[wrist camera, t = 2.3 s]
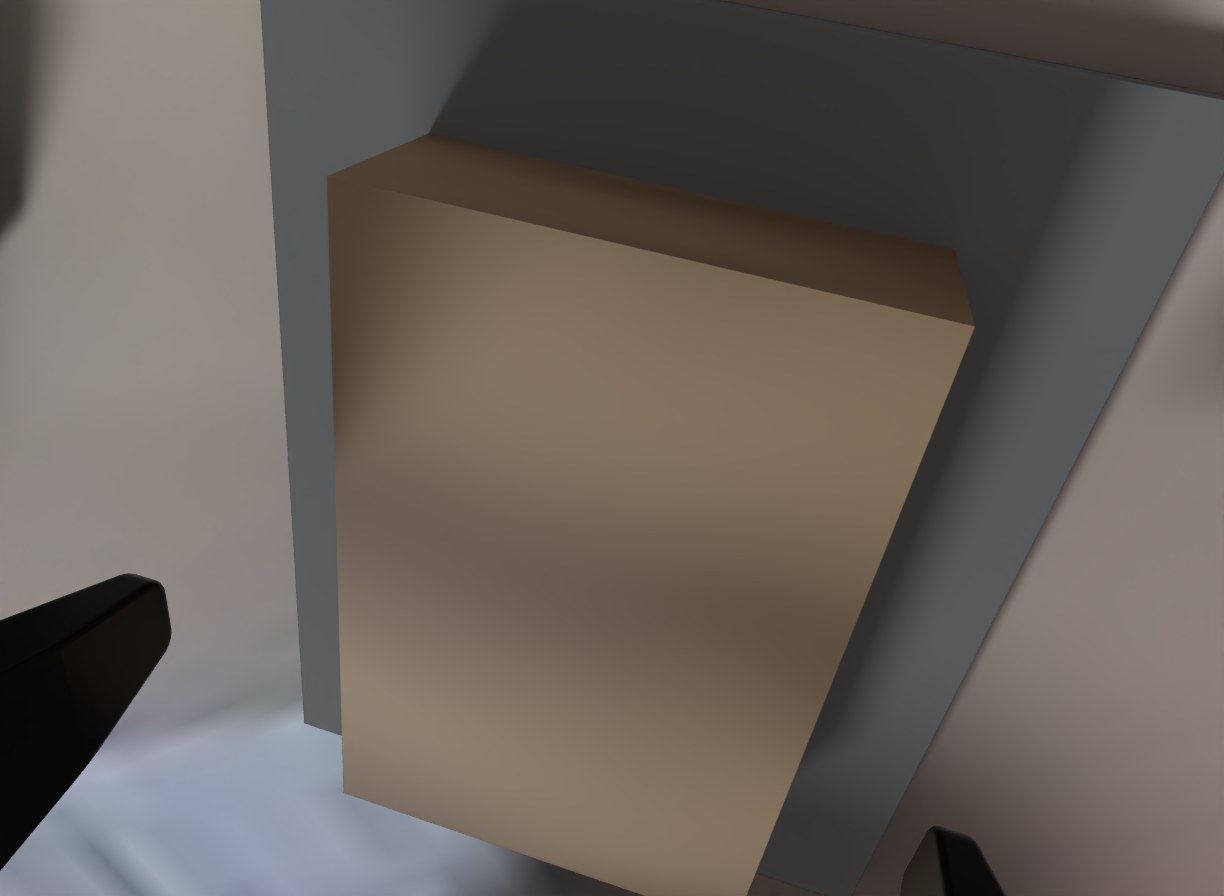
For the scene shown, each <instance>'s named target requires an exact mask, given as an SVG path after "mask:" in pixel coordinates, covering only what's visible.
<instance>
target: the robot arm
mask: <svg viewBox="0 0 1224 896" xmlns="http://www.w3.org/2000/svg"><path fill="white" fill-rule="evenodd" d="M170 639H171V624H170V618H169V612H168V606H167V600H166V594H165V590H164V587H163V586H162V585H161V583H160V582H158V581H156V580H153V579H149V578H146V577H143V576H140V575H137V574H129V573H128V574H122V575H119V576H116V577H114V578H111V579H108V580H106V581H103V582H100V583H98V584H95V585H92V586H90V587H87V588H85V589H82V590H79V591H77V592H74V593H71V594H69V595H66V596H63V597H61V598H58V599H55V600H53V601H50V602H47V603H45V604H42V605H40V606H37V607H34V608H32V609H29V610H26V611H24V612H21V613H18V614H16V615H13V616H10V617H8V618H5V619H2V620H0V871H1V869H2V868H3V867H4V866H5V864H6V863H7V862H8V861H9V860H10V858H11V857H12V856H13V855H14V854H15V852H16V851H17V850H18V849H19V848H20V846H21V845H22V844H23V843H24V842H25V840H26V839H27V838H28V837H29V836H30V834H31V833H32V832H33V831H34V830H35V828H36V827H37V826H38V825H39V824H40V822H41V821H42V820H43V819H44V818H45V816H46V815H47V814H48V813H49V811H50V810H51V809H52V808H53V807H54V805H55V804H56V803H57V802H58V801H59V799H60V798H61V797H62V796H63V795H64V793H65V792H66V791H67V790H68V789H69V787H70V786H71V785H72V784H73V783H74V781H75V780H76V779H77V778H78V776H79V775H80V774H81V773H82V771H83V770H84V769H85V768H86V766H87V765H88V764H89V763H90V761H91V760H92V758H93V757H94V756H95V754H96V753H97V752H98V750H99V749H100V747H101V746H102V745H103V743H104V742H105V740H106V739H107V737H108V736H109V734H110V733H111V731H112V730H113V728H114V727H115V726H116V724H117V723H118V721H119V720H120V718H121V717H122V715H123V714H124V712H125V711H126V709H127V708H128V706H129V705H130V703H131V702H132V700H133V699H134V698H135V696H136V695H137V693H138V692H139V690H140V689H141V687H142V686H143V684H144V683H145V681H146V680H147V678H148V677H149V675H150V674H151V673H152V671H153V670H154V668H155V667H156V665H157V664H158V662H159V661H160V659H161V658H162V656H163V655H164V653H165V652H166V650H167V648H168V645H169V643H170ZM900 896H1006V895H1005V893H1004V891H1003V889H1002V888H1001V886H1000V884H999V882H998V880H997V879H996V877H995V875H994V873H993V871H992V870H991V868H990V866H989V864H988V862H987V861H986V859H985V857H984V855H983V853H982V851H981V850H980V848H979V846H978V845H977V843H976V842H975V841H974V840H973V839H972V838H971V837H969V836H967V835H965V834H962V833H959V832H955V831H952V830H949V829H946V828H943V827H940V826H934V827H932V828H930V829H929V830H928V832H927V833H926V835H925V836H924V838H923V840H922V842H921V844H920V845H919V847H918V849H917V851H916V853H915V854H914V856H913V858H912V860H911V862H910V863H909V865H908V867H907V869H906V871H905V874H904V877H903V881H902V886H901V894H900Z"/></svg>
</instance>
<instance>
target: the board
mask: <svg viewBox="0 0 1224 896" xmlns="http://www.w3.org/2000/svg"><path fill="white" fill-rule="evenodd" d="M327 199H328V236H329V273H330V310H331V347H332V384H333V421H334V458H335V495H336V532H337V569H338V606H339V643H340V680H341V718H342V755H343V792H344V793H345V794H348V795H351V796H354V797H357V798H360V799H363V800H366V801H369V802H372V803H375V804H378V805H381V806H383V807H386V808H389V809H392V810H395V811H398V812H401V813H404V814H407V815H410V816H413V817H416V818H419V819H421V820H424V821H427V822H430V823H433V824H436V825H439V826H442V827H445V828H448V829H451V830H454V831H457V832H460V833H462V834H465V835H468V836H471V837H474V838H477V839H480V840H483V841H486V842H489V843H492V844H495V845H498V846H500V847H503V848H506V849H509V850H512V851H515V852H518V853H521V854H524V855H527V856H530V857H533V858H536V859H539V860H541V861H544V862H547V863H550V864H553V865H556V866H559V867H562V868H565V869H568V870H571V871H574V872H577V873H579V874H582V875H585V876H588V877H591V878H594V879H597V880H600V881H603V882H606V883H609V884H612V885H615V886H618V887H620V888H623V889H626V890H629V891H632V892H635V893H638V894H641V895H644V896H747V893H748V891H749V888H750V886H751V883H752V881H753V878H754V876H755V873H756V871H757V868H758V866H759V863H760V861H761V858H762V856H763V853H764V851H765V848H766V846H767V843H768V841H769V838H770V836H771V833H772V831H773V828H774V826H775V823H776V821H777V818H778V816H779V813H780V811H781V808H782V806H783V803H784V801H785V798H786V796H787V793H788V791H789V788H790V786H791V784H792V781H793V779H794V776H795V774H796V771H797V769H798V766H799V764H800V761H801V759H802V756H803V754H804V751H805V749H806V746H807V744H808V741H809V739H810V736H811V734H812V731H813V729H814V726H815V724H816V721H817V719H818V716H819V714H820V711H821V709H822V706H823V704H824V701H825V699H826V696H827V694H828V691H829V689H830V686H831V684H832V681H833V679H834V676H835V674H836V671H837V669H838V667H839V664H840V662H841V659H842V657H843V654H844V652H845V649H846V647H847V644H848V642H849V639H850V637H851V634H852V632H853V629H854V627H855V624H856V622H857V619H858V617H859V614H860V612H861V609H862V607H863V604H864V602H865V599H866V597H867V594H868V592H869V589H870V587H871V584H872V582H873V579H874V577H875V574H876V572H877V569H878V567H879V564H880V562H881V559H882V557H883V554H884V552H885V549H886V547H887V545H888V542H889V540H890V537H891V535H892V532H893V530H894V527H895V525H896V522H897V520H898V517H899V515H900V512H901V510H902V507H903V505H904V502H905V500H906V497H907V495H908V492H909V490H910V487H911V485H912V482H913V480H914V477H915V475H916V472H917V470H918V467H919V465H920V462H921V460H922V457H923V455H924V452H925V450H926V447H927V445H928V442H929V440H930V437H931V435H932V432H933V430H934V428H935V425H936V423H937V420H938V418H939V415H940V413H941V410H942V408H943V405H944V403H945V400H946V398H947V395H948V393H949V390H950V388H951V385H952V383H953V380H954V378H955V375H956V373H957V370H958V368H959V365H960V363H961V360H962V358H963V355H964V353H965V350H966V348H967V345H968V343H969V340H970V338H971V335H972V333H973V330H974V328H975V325H974V321H973V317H972V313H971V309H970V306H969V302H968V298H967V294H966V290H965V287H964V283H963V279H962V275H961V271H960V268H959V264H958V260H957V256H956V252H955V250H954V249H949V248H945V247H940V246H936V245H931V244H927V243H922V242H917V241H913V240H908V239H904V238H899V237H895V236H890V235H886V234H881V233H877V232H872V231H868V230H863V229H859V228H854V227H850V226H845V225H840V224H836V223H831V222H827V221H822V220H818V219H813V218H809V217H804V216H800V215H795V214H791V213H786V212H782V211H777V210H773V209H768V208H763V207H759V206H754V205H750V204H745V203H741V202H736V201H732V200H727V199H723V198H718V197H714V196H709V195H705V194H700V193H695V192H691V191H686V190H682V189H677V188H673V187H668V186H664V185H659V184H655V183H650V182H646V181H641V180H637V179H632V178H628V177H623V176H618V175H614V174H609V173H605V172H600V171H596V170H591V169H587V168H582V167H578V166H573V165H569V164H564V163H560V162H555V161H551V160H546V159H541V158H537V157H532V156H528V155H523V154H519V153H514V152H510V151H505V150H501V149H496V148H492V147H487V146H483V145H478V144H473V143H469V142H464V141H460V140H455V139H451V138H446V137H442V136H437V135H433V134H426V135H424V136H421V137H419V138H416V139H414V140H412V141H409V142H407V143H405V144H402V145H400V146H397V147H395V148H393V149H390V150H388V151H385V152H383V153H381V154H378V155H376V156H373V157H371V158H369V159H366V160H364V161H362V162H359V163H357V164H354V165H352V166H350V167H347V168H345V169H342V170H340V171H338V172H335V173H333V174H331V175H328V176H327Z"/></svg>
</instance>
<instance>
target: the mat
mask: <svg viewBox="0 0 1224 896" xmlns="http://www.w3.org/2000/svg"><path fill="white" fill-rule="evenodd" d="M260 3H261V19H262V36H263V52H264V69H265V85H266V102H267V118H268V134H269V151H270V167H271V184H272V200H273V217H274V233H275V250H276V266H277V283H278V299H279V315H280V332H281V348H282V365H283V381H284V398H285V414H286V431H287V447H288V464H289V480H290V496H291V513H292V529H293V546H294V562H295V579H296V595H297V612H298V628H299V645H300V661H301V677H302V694H303V710H304V723H305V724H308V725H311V726H314V727H317V728H320V729H323V730H326V731H329V732H332V733H335V734H338V735H341V736H342V718H341V680H340V643H339V606H338V569H337V532H336V495H335V458H334V421H333V384H332V347H331V310H330V273H329V236H328V199H327V176H328V175H331V174H333V173H335V172H338V171H340V170H342V169H345V168H347V167H350V166H352V165H354V164H357V163H359V162H362V161H364V160H366V159H369V158H371V157H373V156H376V155H378V154H381V153H383V152H385V151H388V150H390V149H393V148H395V147H397V146H400V145H402V144H405V143H407V142H409V141H412V140H414V139H416V138H419V137H421V136H424V135H426V134H433V135H437V136H442V137H446V138H451V139H455V140H460V141H464V142H469V143H473V144H478V145H483V146H487V147H492V148H496V149H501V150H505V151H510V152H514V153H519V154H523V155H528V156H532V157H537V158H541V159H546V160H551V161H555V162H560V163H564V164H569V165H573V166H578V167H582V168H587V169H591V170H596V171H600V172H605V173H609V174H614V175H618V176H623V177H628V178H632V179H637V180H641V181H646V182H650V183H655V184H659V185H664V186H668V187H673V188H677V189H682V190H686V191H691V192H695V193H700V194H705V195H709V196H714V197H718V198H723V199H727V200H732V201H736V202H741V203H745V204H750V205H754V206H759V207H763V208H768V209H773V210H777V211H782V212H786V213H791V214H795V215H800V216H804V217H809V218H813V219H818V220H822V221H827V222H831V223H836V224H840V225H845V226H850V227H854V228H859V229H863V230H868V231H872V232H877V233H881V234H886V235H890V236H895V237H899V238H904V239H908V240H913V241H917V242H922V243H927V244H931V245H936V246H940V247H945V248H949V249H954V250H955V252H956V256H957V260H958V264H959V268H960V271H961V275H962V279H963V283H964V287H965V290H966V294H967V298H968V302H969V306H970V309H971V313H972V317H973V321H974V325H975V328H974V330H973V333H972V335H971V338H970V340H969V343H968V345H967V348H966V350H965V353H964V355H963V358H962V360H961V363H960V365H959V368H958V370H957V373H956V375H955V378H954V380H953V383H952V385H951V388H950V390H949V393H948V395H947V398H946V400H945V403H944V405H943V408H942V410H941V413H940V415H939V418H938V420H937V423H936V425H935V428H934V430H933V432H932V435H931V437H930V440H929V442H928V445H927V447H926V450H925V452H924V455H923V457H922V460H921V462H920V465H919V467H918V470H917V472H916V475H915V477H914V480H913V482H912V485H911V487H910V490H909V492H908V495H907V497H906V500H905V502H904V505H903V507H902V510H901V512H900V515H899V517H898V520H897V522H896V525H895V527H894V530H893V532H892V535H891V537H890V540H889V542H888V545H887V547H886V549H885V552H884V554H883V557H882V559H881V562H880V564H879V567H878V569H877V572H876V574H875V577H874V579H873V582H872V584H871V587H870V589H869V592H868V594H867V597H866V599H865V602H864V604H863V607H862V609H861V612H860V614H859V617H858V619H857V622H856V624H855V627H854V629H853V632H852V634H851V637H850V639H849V642H848V644H847V647H846V649H845V652H844V654H843V657H842V659H841V662H840V664H839V667H838V669H837V671H836V674H835V676H834V679H833V681H832V684H831V686H830V689H829V691H828V694H827V696H826V699H825V701H824V704H823V706H822V709H821V711H820V714H819V716H818V719H817V721H816V724H815V726H814V729H813V731H812V734H811V736H810V739H809V741H808V744H807V746H806V749H805V751H804V754H803V756H802V759H801V761H800V764H799V766H798V769H797V771H796V774H795V776H794V779H793V781H792V784H791V786H790V788H789V791H788V793H787V796H786V798H785V801H784V803H783V806H782V808H781V811H780V813H779V816H778V818H777V821H776V823H775V826H774V828H773V831H772V833H771V836H770V838H769V841H768V843H767V846H766V848H765V851H764V853H763V856H762V858H761V861H760V863H759V866H758V868H757V871H756V873H757V874H761V875H764V876H767V877H770V878H773V879H776V880H779V881H782V882H785V883H788V884H791V885H794V886H797V887H800V888H803V889H806V890H809V891H812V892H815V893H818V894H821V895H824V896H852V894H853V892H854V890H855V888H856V886H857V884H858V882H859V880H860V878H861V876H862V875H863V873H864V871H865V869H866V867H867V865H868V863H869V861H870V859H871V857H872V855H873V853H874V851H875V849H876V847H877V845H878V843H879V841H880V840H881V838H882V836H883V834H884V832H885V830H886V828H887V826H888V824H889V822H890V820H891V818H892V816H893V814H894V812H895V810H896V808H897V806H898V805H899V803H900V801H901V799H902V797H903V795H904V793H905V791H906V789H907V787H908V785H909V783H910V781H911V779H912V777H913V775H914V773H915V771H916V770H917V768H918V766H919V764H920V762H921V760H922V758H923V756H924V754H925V752H926V750H927V748H928V746H929V744H930V742H931V740H932V738H933V736H934V735H935V733H936V731H937V729H938V727H939V725H940V723H941V721H942V719H943V717H944V715H945V713H946V711H947V709H948V707H949V705H950V703H951V701H952V700H953V698H954V696H955V694H956V692H957V690H958V688H959V686H960V684H961V682H962V680H963V678H964V676H965V674H966V672H967V670H968V668H969V666H970V665H971V663H972V661H973V659H974V657H975V655H976V653H977V651H978V649H979V647H980V645H981V643H982V641H983V639H984V637H985V635H986V633H987V631H988V630H989V628H990V626H991V624H992V622H993V620H994V618H995V616H996V614H997V612H998V610H999V608H1000V606H1001V604H1002V602H1003V600H1004V598H1005V596H1006V595H1007V593H1008V591H1009V589H1010V587H1011V585H1012V583H1013V581H1014V579H1015V577H1016V575H1017V573H1018V571H1019V569H1020V567H1021V565H1022V563H1023V561H1024V560H1025V558H1026V556H1027V554H1028V552H1029V550H1030V548H1031V546H1032V544H1033V542H1034V540H1035V538H1036V536H1037V534H1038V532H1039V530H1040V528H1041V526H1042V525H1043V523H1044V521H1045V519H1046V517H1047V515H1048V513H1049V511H1050V509H1051V507H1052V505H1053V503H1054V501H1055V499H1056V497H1057V495H1058V493H1059V491H1060V490H1061V488H1062V486H1063V484H1064V482H1065V480H1066V478H1067V476H1068V474H1069V472H1070V470H1071V468H1072V466H1073V464H1074V462H1075V460H1076V458H1077V456H1078V455H1079V453H1080V451H1081V449H1082V447H1083V445H1084V443H1085V441H1086V439H1087V437H1088V435H1089V433H1090V431H1091V429H1092V427H1093V425H1094V423H1095V422H1096V420H1097V418H1098V416H1099V414H1100V412H1101V410H1102V408H1103V406H1104V404H1105V402H1106V400H1107V398H1108V396H1109V394H1110V392H1111V390H1112V388H1113V387H1114V385H1115V383H1116V381H1117V379H1118V377H1119V375H1120V373H1121V371H1122V369H1123V367H1124V365H1125V363H1126V361H1127V359H1128V357H1129V355H1130V353H1131V352H1132V350H1133V348H1134V346H1135V344H1136V342H1137V340H1138V338H1139V336H1140V334H1141V332H1142V330H1143V328H1144V326H1145V324H1146V322H1147V320H1148V318H1149V317H1150V315H1151V313H1152V311H1153V309H1154V307H1155V305H1156V303H1157V301H1158V299H1159V297H1160V295H1161V293H1162V291H1163V289H1164V287H1165V285H1166V283H1167V282H1168V280H1169V278H1170V276H1171V274H1172V272H1173V270H1174V268H1175V266H1176V264H1177V262H1178V260H1179V258H1180V256H1181V254H1182V252H1183V250H1184V248H1185V247H1186V245H1187V243H1188V241H1189V239H1190V237H1191V235H1192V233H1193V231H1194V229H1195V227H1196V225H1197V223H1198V221H1199V219H1200V217H1201V215H1202V213H1203V212H1204V210H1205V208H1206V206H1207V204H1208V202H1209V200H1210V198H1211V196H1212V194H1213V192H1214V190H1215V188H1216V186H1217V184H1218V182H1219V180H1220V178H1221V177H1222V175H1223V173H1224V95H1220V94H1214V93H1209V92H1204V91H1198V90H1193V89H1188V88H1182V87H1177V86H1172V85H1166V84H1161V83H1156V82H1150V81H1145V80H1140V79H1134V78H1129V77H1124V76H1119V75H1113V74H1108V73H1103V72H1097V71H1092V70H1087V69H1081V68H1076V67H1071V66H1065V65H1060V64H1055V63H1049V62H1044V61H1039V60H1033V59H1028V58H1023V57H1017V56H1012V55H1007V54H1001V53H996V52H991V51H985V50H980V49H975V48H969V47H964V46H959V45H953V44H948V43H943V42H937V41H932V40H927V39H921V38H916V37H911V36H905V35H900V34H895V33H889V32H884V31H879V30H873V29H868V28H863V27H857V26H852V25H847V24H842V23H836V22H831V21H826V20H820V19H815V18H810V17H804V16H799V15H794V14H788V13H783V12H778V11H772V10H767V9H762V8H756V7H751V6H746V5H740V4H735V3H730V2H724V1H719V0H260Z"/></svg>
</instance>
